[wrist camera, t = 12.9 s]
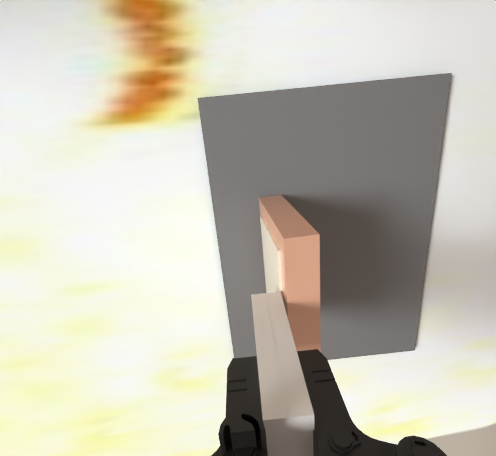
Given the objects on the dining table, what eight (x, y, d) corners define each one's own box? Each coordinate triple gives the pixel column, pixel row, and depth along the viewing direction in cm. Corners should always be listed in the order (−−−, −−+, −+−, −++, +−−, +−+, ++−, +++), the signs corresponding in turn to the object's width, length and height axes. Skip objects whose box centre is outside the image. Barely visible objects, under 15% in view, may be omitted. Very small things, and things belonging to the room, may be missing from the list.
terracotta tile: (256, 197, 20) (280, 239, 12) (281, 194, 20) (319, 234, 12) (266, 306, 23) (289, 392, 15) (287, 303, 23) (321, 387, 15)
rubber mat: (198, 98, 18) (197, 98, 18) (446, 74, 18) (451, 73, 18) (235, 366, 25) (236, 369, 25) (412, 346, 26) (414, 350, 25)
